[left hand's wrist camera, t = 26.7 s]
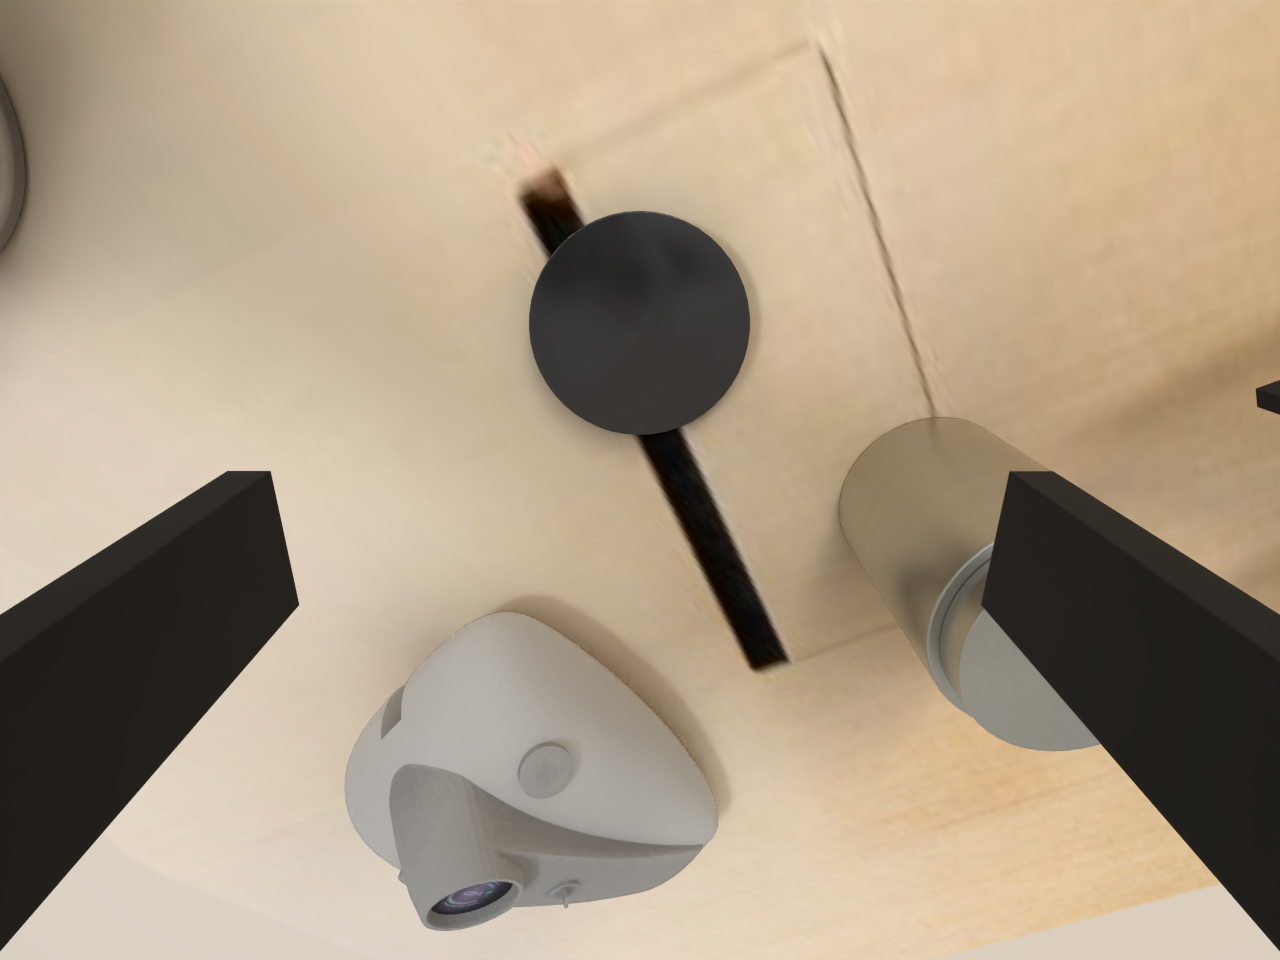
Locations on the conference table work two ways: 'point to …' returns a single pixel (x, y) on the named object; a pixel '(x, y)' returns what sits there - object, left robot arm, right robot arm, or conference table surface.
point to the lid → (639, 322)
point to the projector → (523, 779)
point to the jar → (951, 571)
